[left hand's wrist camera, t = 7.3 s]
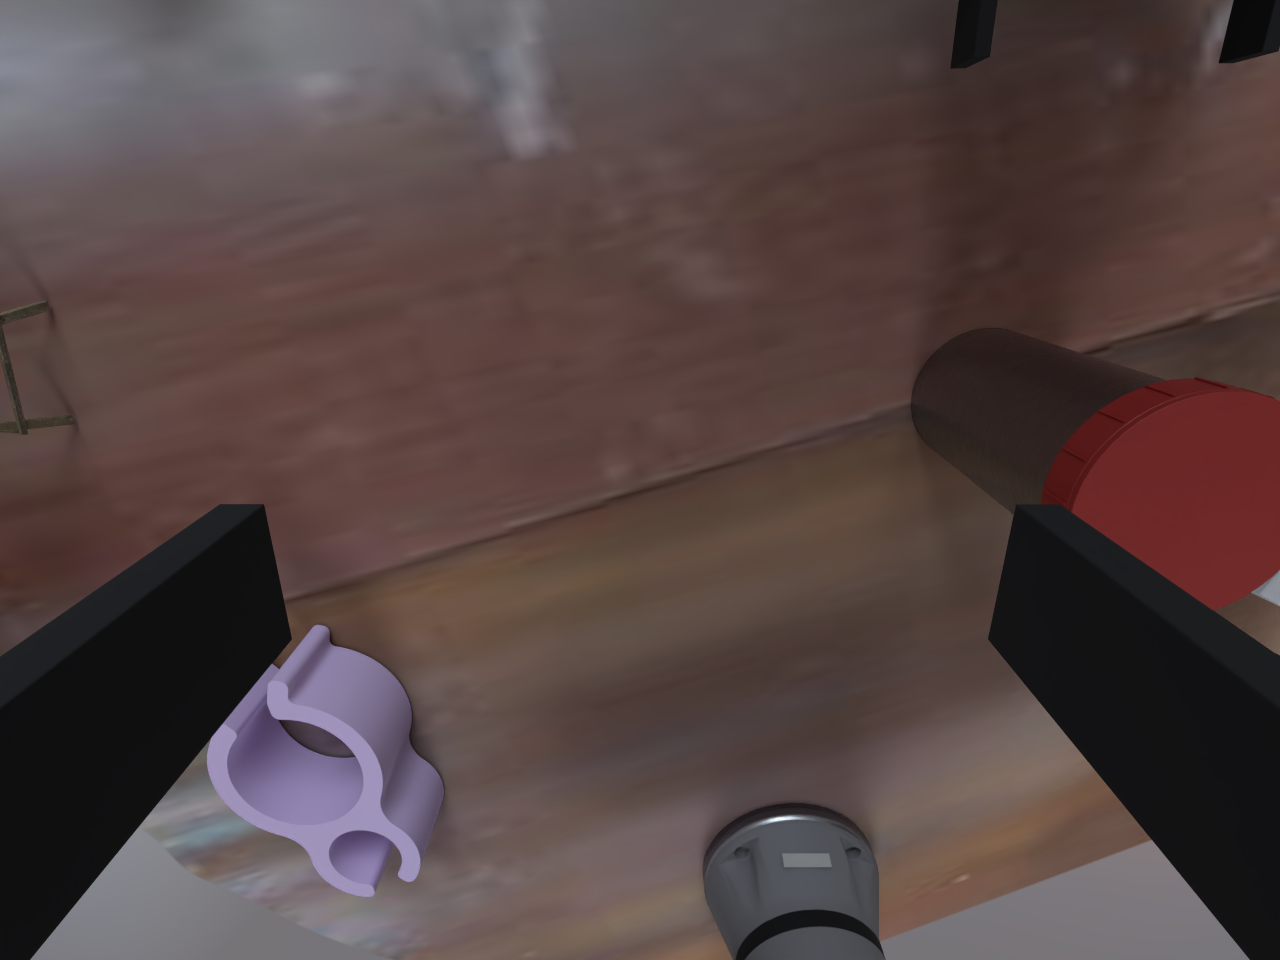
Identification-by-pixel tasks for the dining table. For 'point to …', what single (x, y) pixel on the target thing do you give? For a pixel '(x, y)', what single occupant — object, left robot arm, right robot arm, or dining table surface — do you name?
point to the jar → (1011, 407)
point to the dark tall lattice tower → (20, 423)
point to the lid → (1181, 483)
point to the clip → (330, 765)
